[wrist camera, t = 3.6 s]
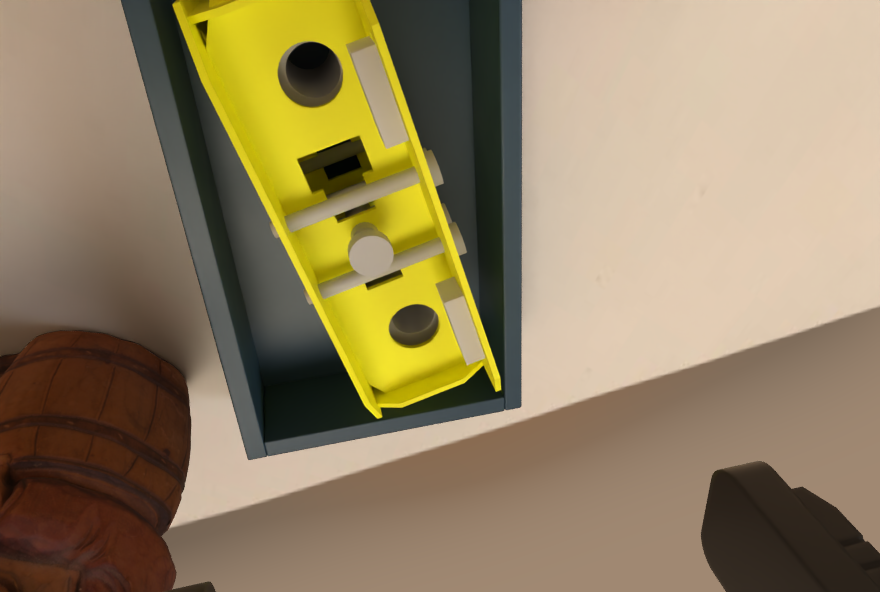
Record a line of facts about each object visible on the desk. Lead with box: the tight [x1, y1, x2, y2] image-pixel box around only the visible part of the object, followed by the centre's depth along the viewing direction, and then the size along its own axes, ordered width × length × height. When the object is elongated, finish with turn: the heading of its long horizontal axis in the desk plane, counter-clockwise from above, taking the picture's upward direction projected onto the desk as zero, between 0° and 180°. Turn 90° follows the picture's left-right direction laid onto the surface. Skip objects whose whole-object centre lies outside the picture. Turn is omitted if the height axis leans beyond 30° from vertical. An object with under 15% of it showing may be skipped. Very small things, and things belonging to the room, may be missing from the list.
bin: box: [121, 0, 522, 460], centre depth 26 cm, size 12×22×4 cm, turn 3°
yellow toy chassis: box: [172, 0, 501, 419], centre depth 24 cm, size 16×6×8 cm, turn 18°
